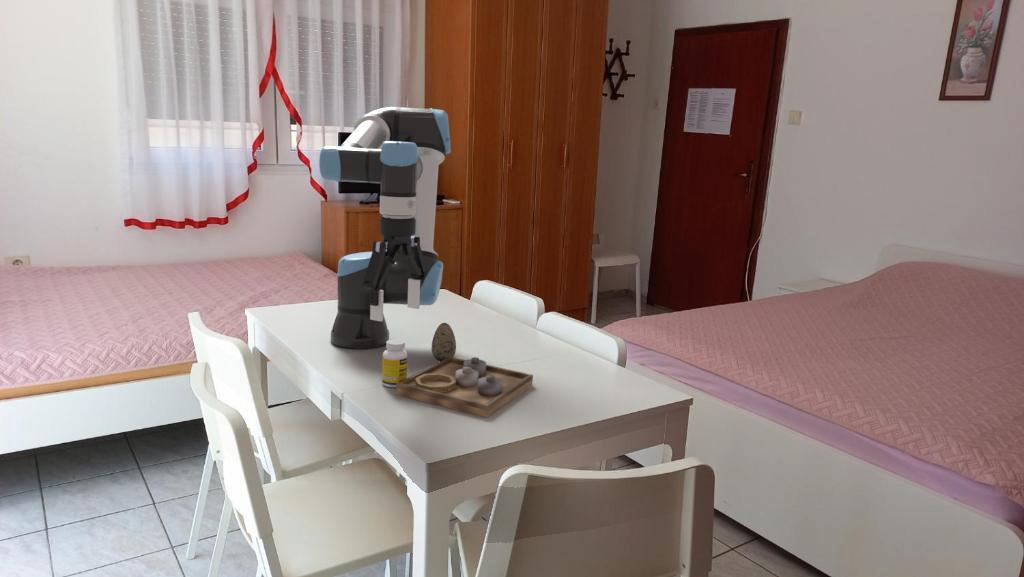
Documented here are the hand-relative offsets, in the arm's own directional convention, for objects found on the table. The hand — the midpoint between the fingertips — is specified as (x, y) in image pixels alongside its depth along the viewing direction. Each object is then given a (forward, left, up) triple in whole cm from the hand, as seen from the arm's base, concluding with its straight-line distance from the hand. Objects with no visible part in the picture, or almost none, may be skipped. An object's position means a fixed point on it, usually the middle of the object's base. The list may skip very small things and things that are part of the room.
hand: (395, 313), depth 152 cm
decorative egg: (+1, +19, -16) cm, 25 cm away
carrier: (+15, +6, -16) cm, 23 cm away
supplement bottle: (0, 0, -16) cm, 16 cm away
